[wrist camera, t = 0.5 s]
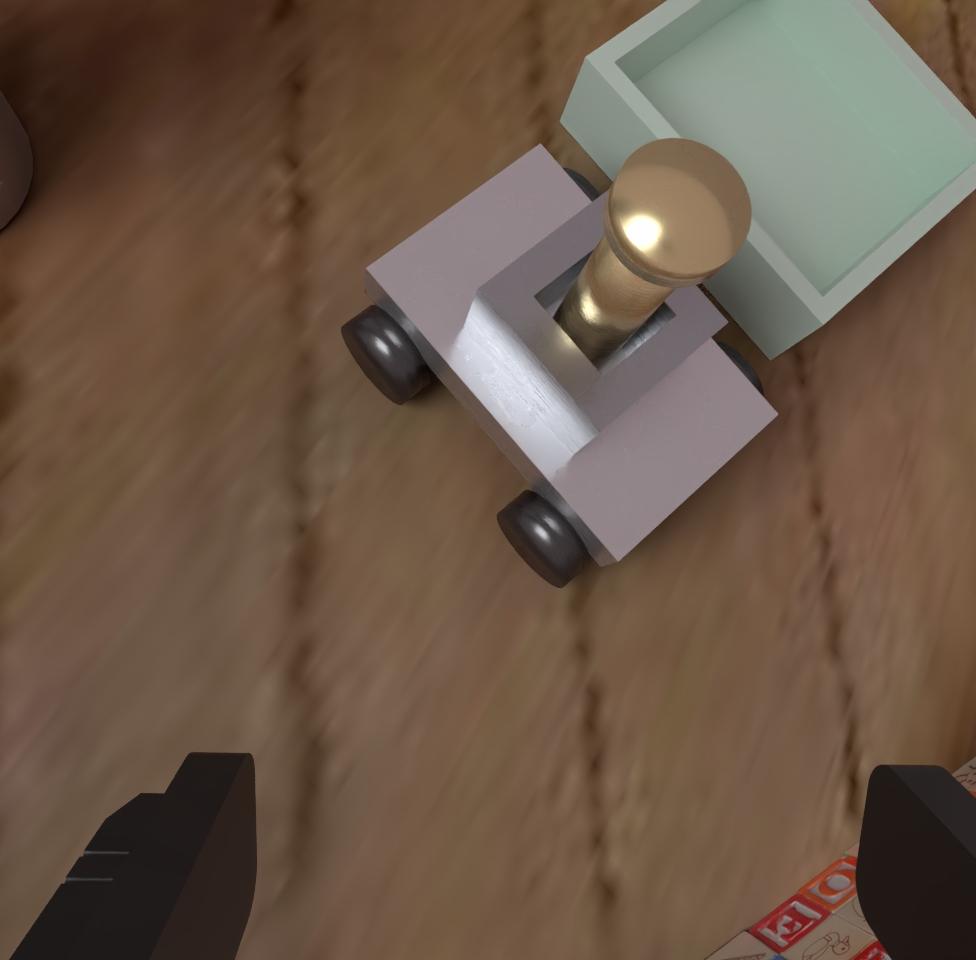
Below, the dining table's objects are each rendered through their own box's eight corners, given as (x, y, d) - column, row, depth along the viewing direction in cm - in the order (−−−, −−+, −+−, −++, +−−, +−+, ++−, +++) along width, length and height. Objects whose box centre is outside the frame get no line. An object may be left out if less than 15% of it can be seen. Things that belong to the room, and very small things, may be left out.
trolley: (337, 342, 39) (333, 244, 30) (536, 195, 43) (591, 64, 33) (554, 595, 39) (622, 580, 29) (739, 427, 42) (856, 362, 32)
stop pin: (509, 334, 34) (585, 187, 23) (580, 278, 36) (685, 112, 24) (574, 409, 34) (682, 298, 23) (644, 351, 35) (779, 217, 24)
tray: (559, 121, 44) (585, 56, 39) (745, -11, 48) (790, -85, 43) (770, 360, 43) (823, 325, 38) (942, 207, 47) (1010, 157, 42)
